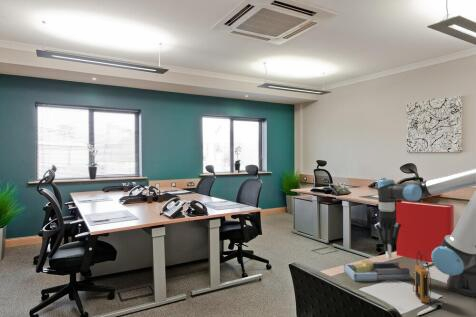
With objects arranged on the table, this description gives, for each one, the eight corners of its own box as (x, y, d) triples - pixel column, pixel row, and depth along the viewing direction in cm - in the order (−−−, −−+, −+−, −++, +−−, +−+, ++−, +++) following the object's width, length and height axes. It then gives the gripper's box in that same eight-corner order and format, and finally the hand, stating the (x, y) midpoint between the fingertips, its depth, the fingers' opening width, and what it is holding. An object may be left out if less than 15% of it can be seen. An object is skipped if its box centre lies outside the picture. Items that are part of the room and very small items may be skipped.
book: (396, 255, 183) (396, 201, 183) (401, 252, 189) (401, 200, 188) (450, 267, 163) (450, 207, 163) (454, 263, 169) (454, 205, 168)
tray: (377, 280, 147) (377, 273, 147) (354, 281, 146) (354, 274, 146) (364, 270, 160) (364, 263, 160) (344, 271, 159) (344, 264, 159)
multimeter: (453, 309, 119) (453, 258, 118) (425, 307, 121) (424, 257, 120) (436, 293, 133) (436, 247, 133) (411, 291, 135) (411, 246, 135)
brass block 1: (365, 266, 151) (356, 267, 151) (366, 274, 151) (357, 275, 151) (361, 263, 155) (353, 264, 155) (362, 271, 155) (353, 272, 155)
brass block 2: (373, 271, 151) (373, 262, 151) (365, 272, 151) (365, 263, 151) (370, 268, 155) (369, 259, 155) (362, 269, 155) (361, 260, 155)
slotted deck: (410, 279, 148) (410, 269, 148) (377, 280, 147) (377, 270, 147) (396, 269, 160) (396, 261, 160) (366, 270, 159) (366, 262, 159)
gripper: (395, 208, 157) (397, 254, 157) (370, 209, 157) (372, 255, 156) (403, 210, 150) (405, 259, 149) (377, 211, 149) (379, 260, 149)
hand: (388, 257), depth 153 cm, fingers closed
